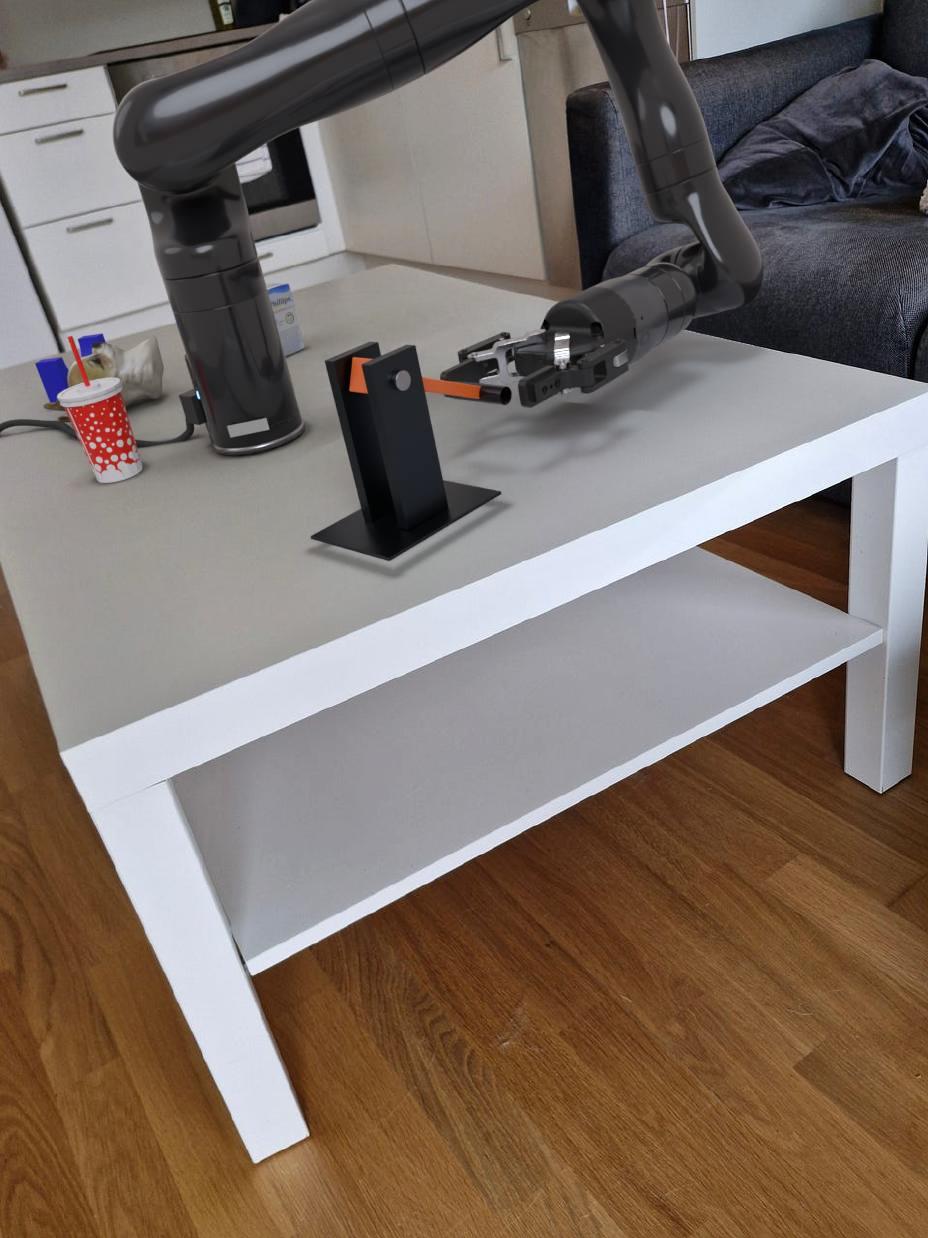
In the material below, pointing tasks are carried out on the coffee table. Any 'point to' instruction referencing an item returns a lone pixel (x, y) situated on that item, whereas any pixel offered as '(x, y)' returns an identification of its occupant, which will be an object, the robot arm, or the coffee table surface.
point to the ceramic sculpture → (120, 371)
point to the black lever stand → (392, 457)
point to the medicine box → (285, 317)
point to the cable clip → (62, 368)
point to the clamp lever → (442, 387)
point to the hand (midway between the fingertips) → (482, 390)
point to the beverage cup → (102, 425)
